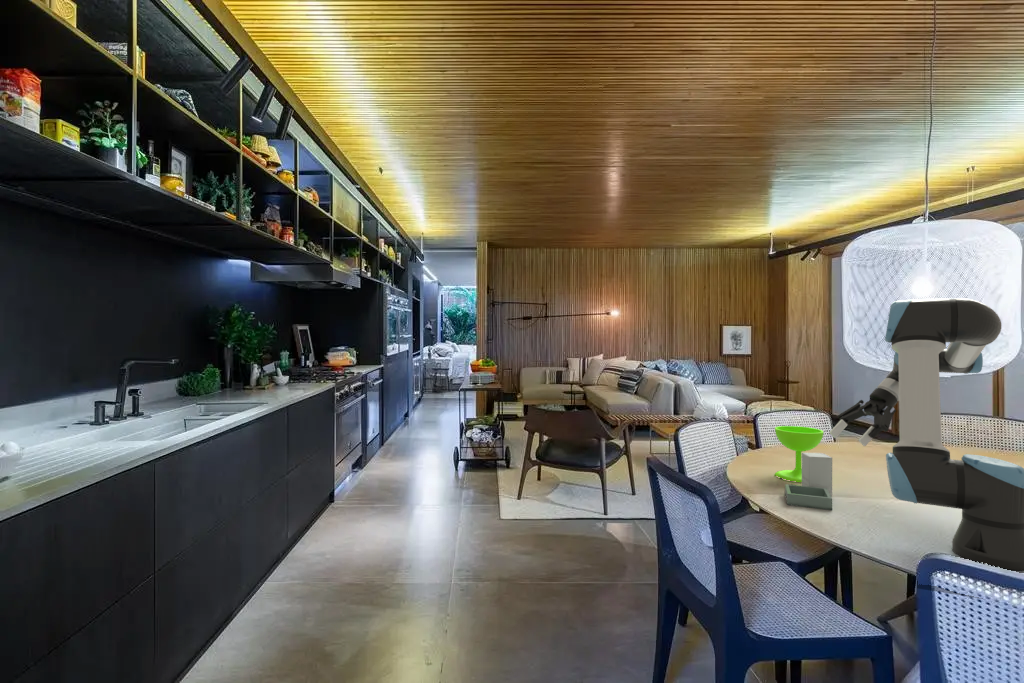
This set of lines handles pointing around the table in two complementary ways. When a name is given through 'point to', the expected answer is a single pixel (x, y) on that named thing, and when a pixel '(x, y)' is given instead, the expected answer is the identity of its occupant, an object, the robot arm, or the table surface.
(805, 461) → the supplement box
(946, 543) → the table surface
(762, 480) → the table surface
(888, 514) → the table surface
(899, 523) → the table surface
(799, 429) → the wineglass
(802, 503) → the holder
